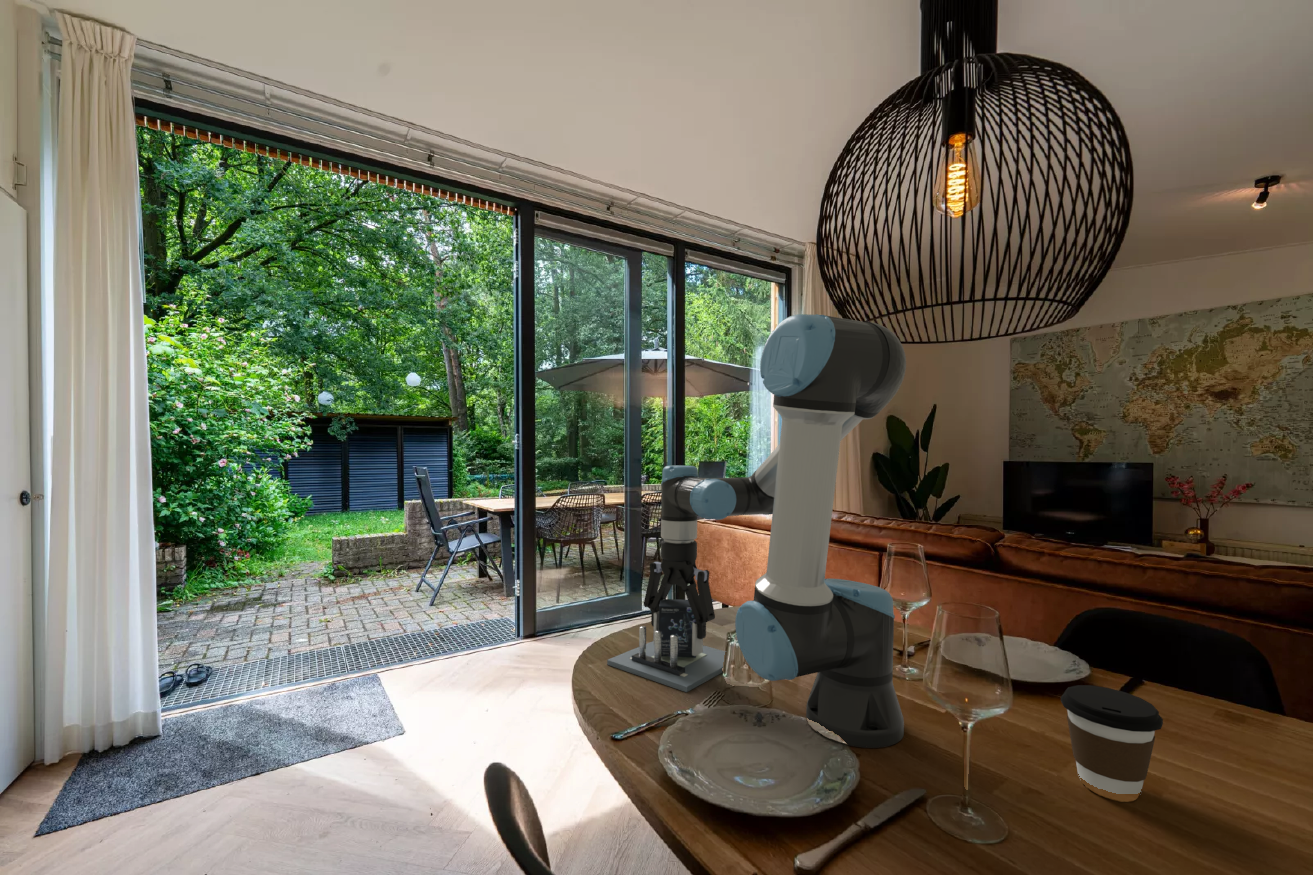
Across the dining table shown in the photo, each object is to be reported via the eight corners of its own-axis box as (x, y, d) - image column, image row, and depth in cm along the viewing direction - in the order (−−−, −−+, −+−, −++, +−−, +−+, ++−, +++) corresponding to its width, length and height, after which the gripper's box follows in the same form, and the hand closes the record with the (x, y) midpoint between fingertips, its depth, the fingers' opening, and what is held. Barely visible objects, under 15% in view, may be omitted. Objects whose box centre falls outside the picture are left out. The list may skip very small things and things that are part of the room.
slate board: (742, 661, 123) (742, 655, 123) (686, 692, 108) (686, 685, 108) (667, 639, 136) (667, 634, 136) (607, 664, 120) (607, 658, 120)
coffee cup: (1167, 826, 72) (1169, 728, 72) (1059, 794, 78) (1060, 703, 78) (1156, 783, 81) (1157, 696, 81) (1060, 758, 87) (1061, 677, 87)
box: (657, 657, 119) (658, 605, 119) (659, 647, 125) (659, 598, 125) (696, 658, 119) (697, 606, 119) (696, 648, 125) (696, 599, 125)
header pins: (685, 672, 114) (685, 636, 114) (678, 676, 112) (679, 639, 112) (638, 657, 122) (638, 623, 122) (631, 660, 120) (632, 626, 120)
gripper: (734, 543, 118) (732, 655, 118) (649, 531, 132) (648, 632, 132) (713, 549, 112) (711, 666, 112) (627, 535, 126) (625, 640, 126)
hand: (677, 647), depth 122 cm, fingers closed on box, 9 cm apart
